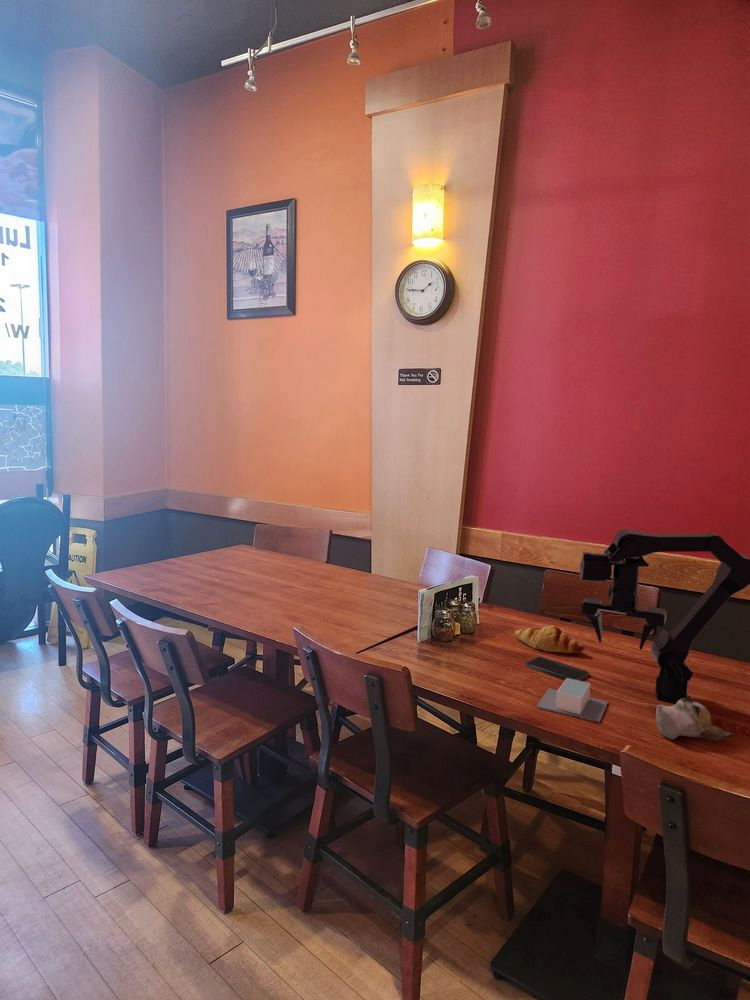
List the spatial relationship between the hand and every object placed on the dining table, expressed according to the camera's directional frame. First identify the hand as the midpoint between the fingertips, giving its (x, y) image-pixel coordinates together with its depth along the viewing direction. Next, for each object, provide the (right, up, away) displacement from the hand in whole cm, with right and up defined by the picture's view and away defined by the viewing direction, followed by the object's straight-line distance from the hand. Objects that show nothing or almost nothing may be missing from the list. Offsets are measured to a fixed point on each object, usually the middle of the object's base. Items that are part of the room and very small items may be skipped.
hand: (620, 645), depth 158 cm
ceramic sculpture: (+7, -15, -18) cm, 25 cm away
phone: (-11, -10, +15) cm, 21 cm away
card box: (-13, -12, -5) cm, 19 cm away
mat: (-13, -13, -5) cm, 19 cm away
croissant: (-9, -8, +32) cm, 34 cm away
